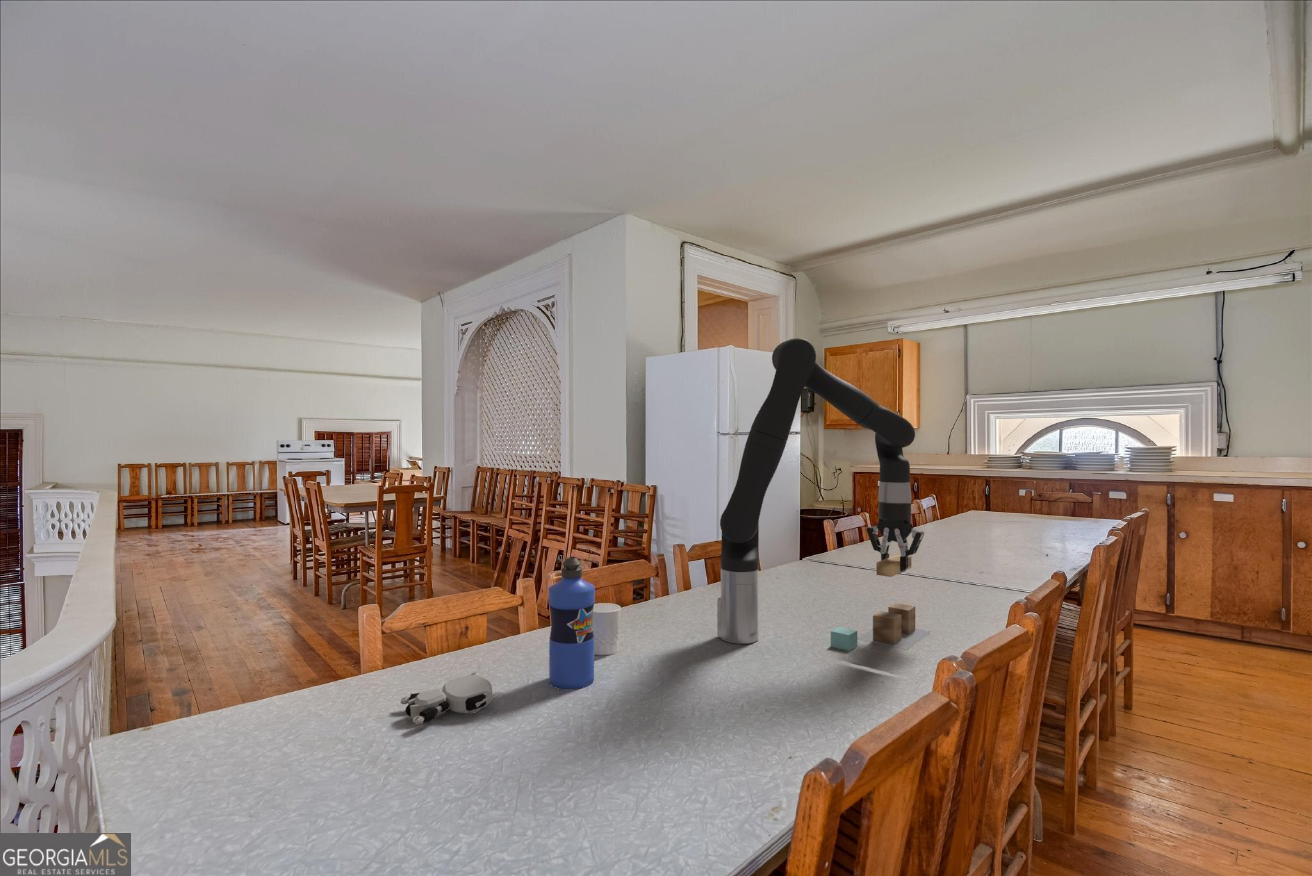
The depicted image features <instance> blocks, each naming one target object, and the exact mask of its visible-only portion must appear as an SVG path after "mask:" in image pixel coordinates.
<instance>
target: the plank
mask: <svg viewBox="0 0 1312 876" xmlns="http://www.w3.org/2000/svg"><path fill="white" fill-rule="evenodd" d="M900 556H901V554H895V555H892V556H889V558H887V559H884V560H881V559H880V560H879V561H877V562H876V565H875V566H876V576H881V577H889V578H892V577H894V576H896V575H897V576H898V574H901V573H902V572H901V571H900ZM911 569H912V555H909V556H908V569H906V571H907V570H911Z"/></svg>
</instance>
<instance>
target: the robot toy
mask: <svg viewBox="0 0 1312 876" xmlns="http://www.w3.org/2000/svg"><path fill="white" fill-rule="evenodd" d="M477 672H478V671H473V672H472V673H470V674H466V675H463V676H459V677H456V678H453V679H449V680H448V681H447V682H446V683H445V684H444V685H443V686H442V690H441V689H440V688H433V689H430V690H426V691H422V692H416V693H411V694H410V695H409V696H403V697H402V698H401V699H400V704H401V705H406V708H405V710H404V711H405V714H406V715H407V716H408V717H410V719H412V723H414V724H417V725H419V724H426V723H427V724H428V723H429V722H430V721H432V719H433V720H434V719H436V717H439V715H440V716H442V715H444V714H445V713H446V712H447V711H448V710H451V711H453V712H455V713H458V714H470V713H473V714H475V713H474V712H476V713H477V712H479V711H481V710H482V709H484V708H486V707H487V706H488V705H489V704H490V703H491V702H492V700H493V698H494V697H496V696H497V695H498V694H499V692H498V691H497V692H494V693H493V686H492V684H491V681H489V680H488V679H486V678H485V677H483V676H481V675H477Z"/></svg>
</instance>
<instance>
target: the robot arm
mask: <svg viewBox="0 0 1312 876" xmlns="http://www.w3.org/2000/svg"><path fill="white" fill-rule="evenodd" d="M771 355H772V356H771V360H772V361H771V363H772V365H773V368H774V369H775V372H774V373H775V374H774V378H773V381H772V384H771V387H770V390H769V392H768V394H767V397H766V399H764V401H763V403H762V405H761V406H760V407H759V410H758V411H757V414H756V415H755V418H754V419H753V421H752V425H751V427H750V430H749V433H748V434H747V435H748V436H747V439H746V442H745V445H744V449H743V453H742V457H741V461H740V465H739V466H740V467H739V471H738V475H737V479H736V483H735V486H734V488H733V491H732V493H731V496H730V497H729V500H728V502H727V505H726V507H725V509H724V510H723V511H722V514H721V516H720V519H719V520H720V521H719V526H720V530H721V550H720V597H718V598H717V600H716V601H717V602H716V603H717V605H716V606H717V611H716V612H717V613H716V615H717V617H716V618H717V619H716V620H717V621H716V623H717V624H716V625H717V626H716V629H717V630H716V632H717V634H716V636H717V637H718V638H720V639H721V640H723V641H724V642H727V643H732V644H739V645H741V644H742V645H744V644H752V643H755V642H757V641H758V640H759V634H760V633H759V561H760V560H759V557H760V556H759V555H760V554H759V553H760V552H759V551H760V549H759V546H760V545H759V542H760V541H759V534H760V533H759V529H760V528H759V526H760V525H759V522H760V516H761V511H762V508H763V503H764V500H765V499H764V498H765V496H766V493H767V490H768V488H769V485H771V482H772V479H773V478H774V475H775V473H776V472H777V469H778V466H779V464H780V461H781V460H782V456H783V454H784V452H785V448H786V446H787V443H788V442H787V441H788V440H789V436H790V432H791V430H792V426H793V423H794V419H795V415H796V412H797V408H798V405H799V401H800V399H801V396H802V394H803V391H804V389H805V388H807V390H808V389H809V390H810V391H811V392H813V393H814V394H816V395H817V396H819V397H821V398H822V399H823V400H825V401H826V402H828V403H829V404H830V405H832V407H834V409H835V408H836V410H838V411H839V412H841V413H842V414H843V415H845V416H846V417H847V418H849V419H850V420H851V421H853V422H854V423H855V424H856V425H858V426H859V427H862V428H864V429H868V430H871V431H872V432H874V433H875V434H874V442H875V449H876V454H877V458H878V462H879V483H878V484H879V486H878V522H877V523H876V525H874V526H869V527H868V526H867V528H866V533H867V535H868V538H869V541H870V543H871V547H872V548H873V550H874V551H876V552H878V553H880V561H881V560H884V559H887V558H889V557H890V553H889V551H890V547H891V545H892V542H895V543H897V546H898V549H899V552H900V555H901V556H900V571H901V573H904V572H906V571H907V570H906V569H908V556H913V555H914V554H915V555H916V554H917V552H918V550H919V547H920V545H921V542H922V540H923V538H924V536H925V532H924V531H922V530H917V529H916V528H914V526H913V524H912V490H911V488H912V487H911V465H910V462H909V460H908V459H907V458H905V456H904V451H903V448H907V447H909V446H911V444H912V443H914V440H915V438H916V431H915V428H914V426H913V424H912V423H910V421H909V420H908V419H906V418H904V417H903V415H900V414H898V413H896V412H894V411H893V410H891V409H889V408H887V407H885V406H883V405H881V404H880V403H878V402H877V401H876V400H875V399H874V398H873V397H871V396H869V395H868V394H866V393H865V392H864V391H863V390H861V389H860V388H857V387H856V386H855V385H853V384H851V383H849V382H848V381H845V380H843V379H842V378H840V377H838V376H836V375H835V374H833V373H831V372H830V371H829V370H827V369H825V368H824V367H823V366H821V364H819V363H818V362H817V360H816V359H817V354H816V349H815V347H814V345H813V344H812V343H811V342H810V341H809V340H807V339H805V338H802V337H795V338H790V339H788V340H785V341H782V342H781V343H780V344H778V345H777V346H776V347H775V348H774V349H773V352H772V354H771ZM879 533H880V534H881V536H882V539H881V541H880V539H879V536H878V534H879ZM910 535H911V537H912V539H913V540H912V542H911V544H910V546H909V543H908V537H909V536H910ZM908 570H909V569H908Z"/></svg>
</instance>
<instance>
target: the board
mask: <svg viewBox="0 0 1312 876" xmlns="http://www.w3.org/2000/svg"><path fill="white" fill-rule="evenodd" d="M931 633H932V631H930V630H926V629H921V628H916V627H915V631H913V632H912V633H911V634H909V635H907V634H902V633H901V640H900V641H899V642H897V643H896V644H895V645H892V644H887V643H882V642H878V641H873V628H872V629H870V630H869V631H867V632H866V633H863V634H862V635H860V636H858V637H857V641H858V640H859V641H863V642H867V643H873V644H877V645H881V646H886V647H890V648H895V649H900V650H905V651H907V650H909V649H910V648H912V647H913V646H914V645H916V644H917V643H919V642H920V641H921V640H923V639H924V638H925V637H927V636H928V635H929V634H931Z"/></svg>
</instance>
